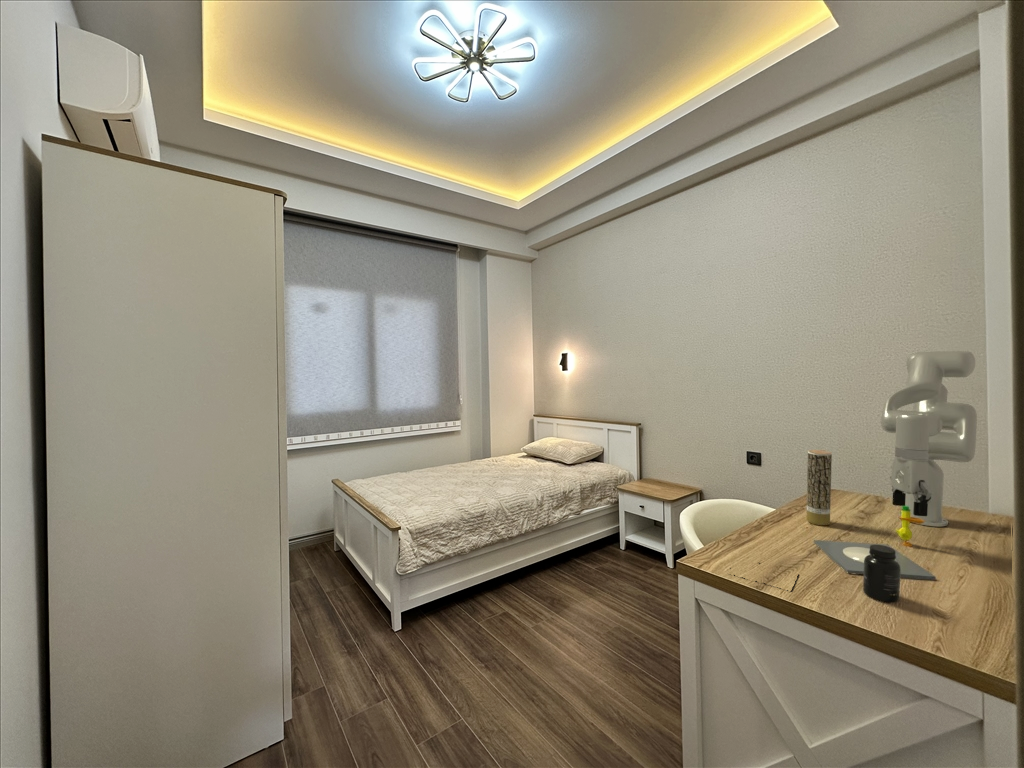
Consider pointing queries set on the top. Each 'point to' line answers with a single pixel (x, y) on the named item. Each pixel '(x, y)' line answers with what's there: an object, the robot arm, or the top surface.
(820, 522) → the paper tube
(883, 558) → the supplement bottle
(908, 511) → the toy figure
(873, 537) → the top surface
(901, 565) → the slate tile
